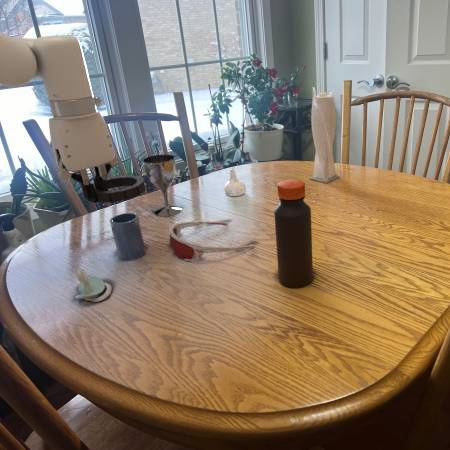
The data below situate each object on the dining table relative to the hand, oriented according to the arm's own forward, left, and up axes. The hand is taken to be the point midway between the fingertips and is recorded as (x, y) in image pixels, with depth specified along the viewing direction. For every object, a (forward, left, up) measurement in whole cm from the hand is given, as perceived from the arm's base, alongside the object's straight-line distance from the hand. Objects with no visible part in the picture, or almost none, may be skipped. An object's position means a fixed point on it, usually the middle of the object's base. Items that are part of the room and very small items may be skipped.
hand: (97, 199), depth 89 cm
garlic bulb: (+45, +8, -15) cm, 48 cm away
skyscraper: (+71, -6, -15) cm, 72 cm away
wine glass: (+25, +14, -15) cm, 32 cm away
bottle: (+18, -37, -15) cm, 44 cm away
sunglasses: (+18, -11, -15) cm, 26 cm away
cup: (+5, 0, -15) cm, 16 cm away
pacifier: (-9, -9, -15) cm, 20 cm away
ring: (+5, 0, 0) cm, 5 cm away
